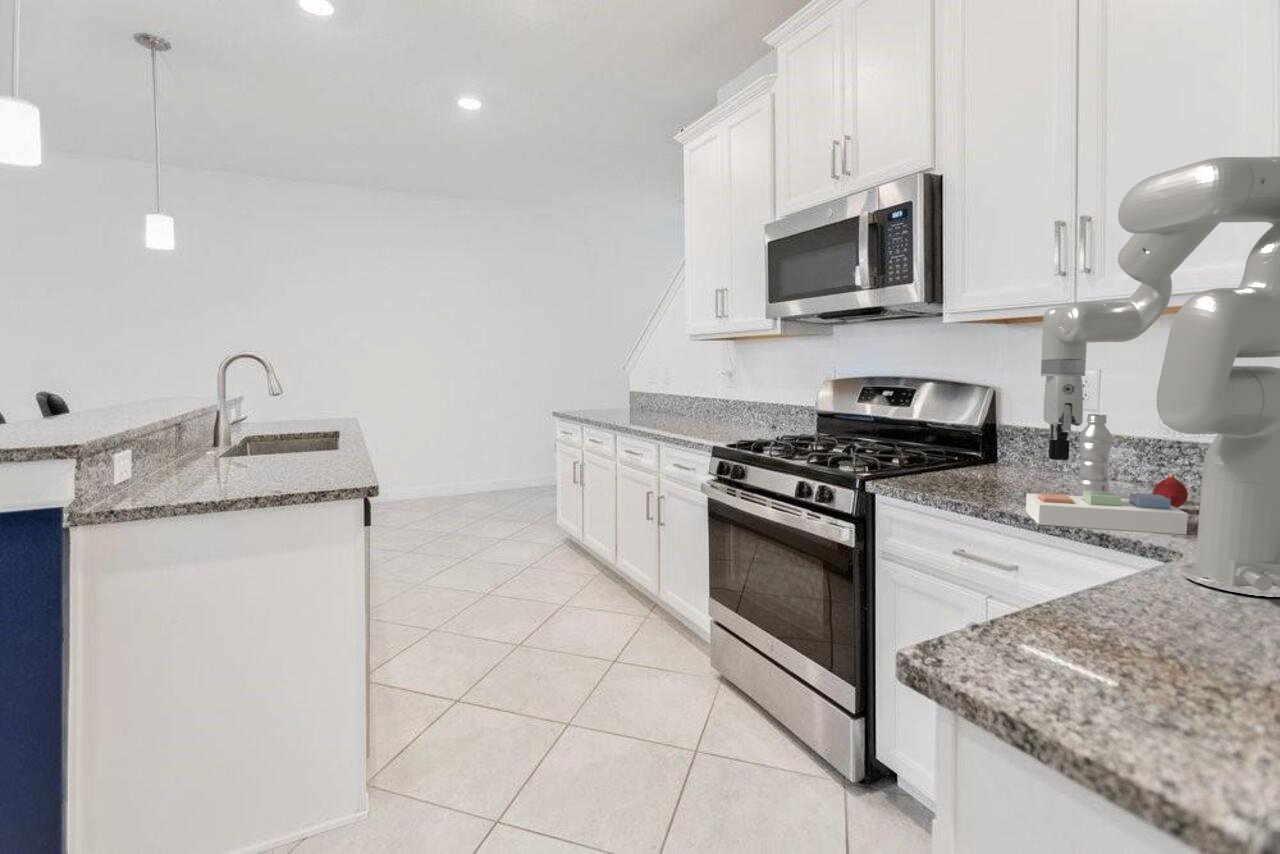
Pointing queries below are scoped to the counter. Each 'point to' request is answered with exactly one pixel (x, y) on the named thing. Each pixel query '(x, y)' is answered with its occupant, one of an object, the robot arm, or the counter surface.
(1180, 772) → the counter surface
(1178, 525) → the button panel
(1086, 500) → the sage key
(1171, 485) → the onion
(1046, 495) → the terracotta key
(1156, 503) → the slate key
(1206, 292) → the robot arm
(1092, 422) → the plastic bottle
